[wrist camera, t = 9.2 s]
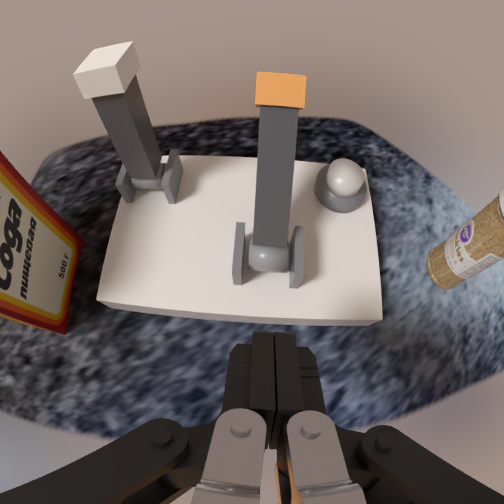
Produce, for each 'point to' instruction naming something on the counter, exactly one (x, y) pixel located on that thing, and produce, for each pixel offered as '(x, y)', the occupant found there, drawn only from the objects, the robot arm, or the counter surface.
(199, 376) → the counter surface
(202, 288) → the switch panel
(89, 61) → the lever white
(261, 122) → the lever orange
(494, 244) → the sprinkles bottle
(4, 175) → the baking soda box
